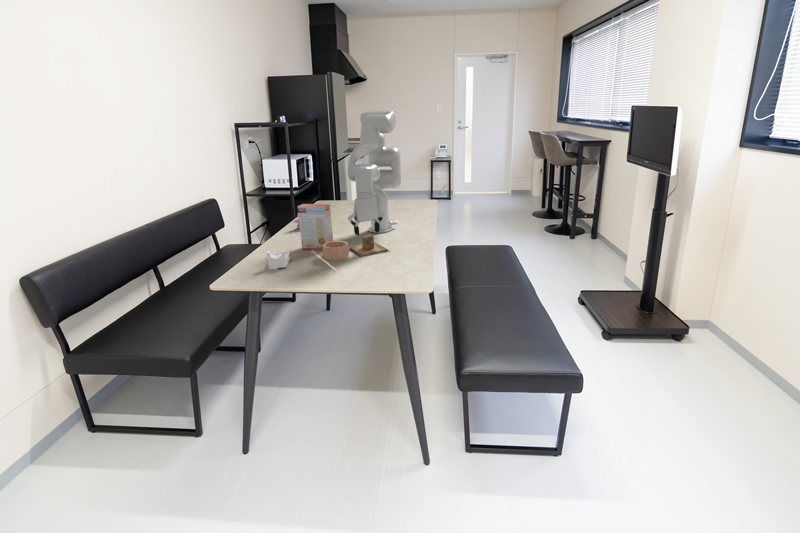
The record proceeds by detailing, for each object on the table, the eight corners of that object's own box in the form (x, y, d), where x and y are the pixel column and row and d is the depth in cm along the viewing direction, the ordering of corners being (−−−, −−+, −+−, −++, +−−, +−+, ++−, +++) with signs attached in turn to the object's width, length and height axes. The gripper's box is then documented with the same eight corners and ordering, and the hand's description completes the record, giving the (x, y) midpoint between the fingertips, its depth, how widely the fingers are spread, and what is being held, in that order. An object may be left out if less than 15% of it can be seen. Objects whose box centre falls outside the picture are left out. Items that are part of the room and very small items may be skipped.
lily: (320, 228, 260) (315, 212, 261) (313, 225, 248) (308, 208, 249) (301, 235, 262) (296, 219, 263) (293, 233, 250) (288, 216, 251)
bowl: (343, 252, 213) (342, 239, 211) (352, 258, 204) (352, 245, 202) (320, 256, 209) (319, 243, 207) (329, 263, 199) (327, 249, 197)
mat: (376, 244, 223) (376, 243, 222) (390, 252, 210) (390, 251, 210) (347, 250, 216) (347, 248, 216) (360, 258, 204) (359, 257, 203)
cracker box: (334, 247, 221) (330, 204, 214) (328, 251, 215) (324, 206, 209) (308, 245, 225) (303, 203, 218) (301, 249, 220) (296, 205, 213)
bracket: (286, 269, 195) (284, 252, 192) (268, 270, 194) (266, 253, 192) (290, 259, 207) (288, 243, 204) (274, 260, 206) (272, 244, 204)
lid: (375, 244, 221) (374, 231, 219) (387, 251, 210) (386, 237, 208) (349, 249, 215) (348, 235, 213) (361, 256, 205) (360, 242, 202)
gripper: (379, 192, 211) (380, 229, 217) (343, 196, 204) (346, 234, 209) (386, 194, 205) (388, 232, 210) (349, 198, 197) (352, 237, 203)
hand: (367, 233), depth 210 cm, fingers open, 9 cm apart
